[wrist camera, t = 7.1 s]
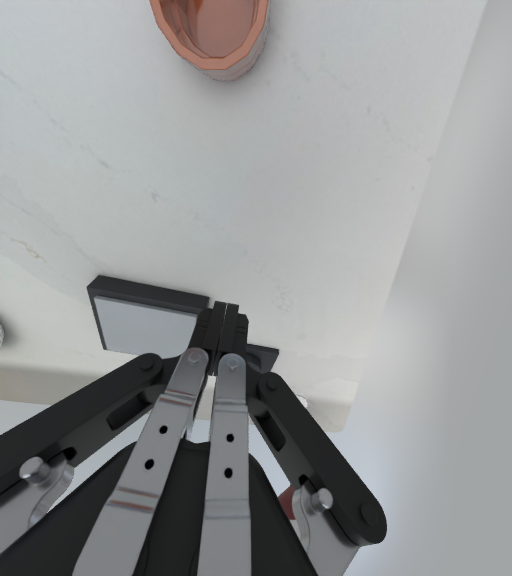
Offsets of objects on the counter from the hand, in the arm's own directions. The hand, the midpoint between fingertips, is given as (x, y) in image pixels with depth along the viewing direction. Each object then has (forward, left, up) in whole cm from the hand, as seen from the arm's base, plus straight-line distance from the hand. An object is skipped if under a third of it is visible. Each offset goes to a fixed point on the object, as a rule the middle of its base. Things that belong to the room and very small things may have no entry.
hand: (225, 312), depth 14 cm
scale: (+9, +16, -13) cm, 22 cm away
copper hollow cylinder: (+4, -14, -13) cm, 20 cm away
